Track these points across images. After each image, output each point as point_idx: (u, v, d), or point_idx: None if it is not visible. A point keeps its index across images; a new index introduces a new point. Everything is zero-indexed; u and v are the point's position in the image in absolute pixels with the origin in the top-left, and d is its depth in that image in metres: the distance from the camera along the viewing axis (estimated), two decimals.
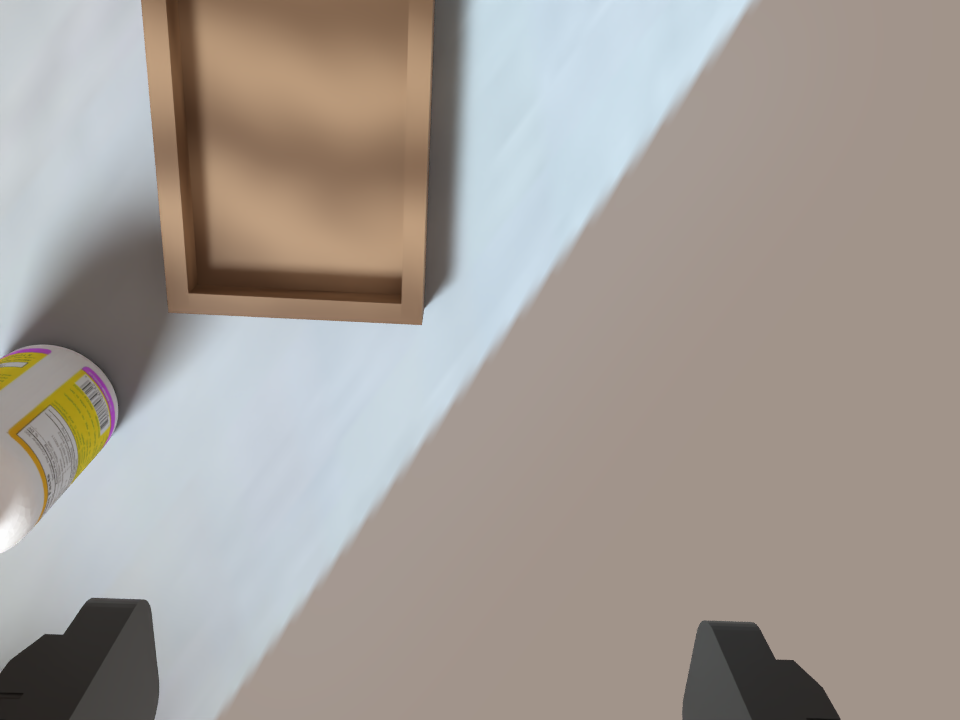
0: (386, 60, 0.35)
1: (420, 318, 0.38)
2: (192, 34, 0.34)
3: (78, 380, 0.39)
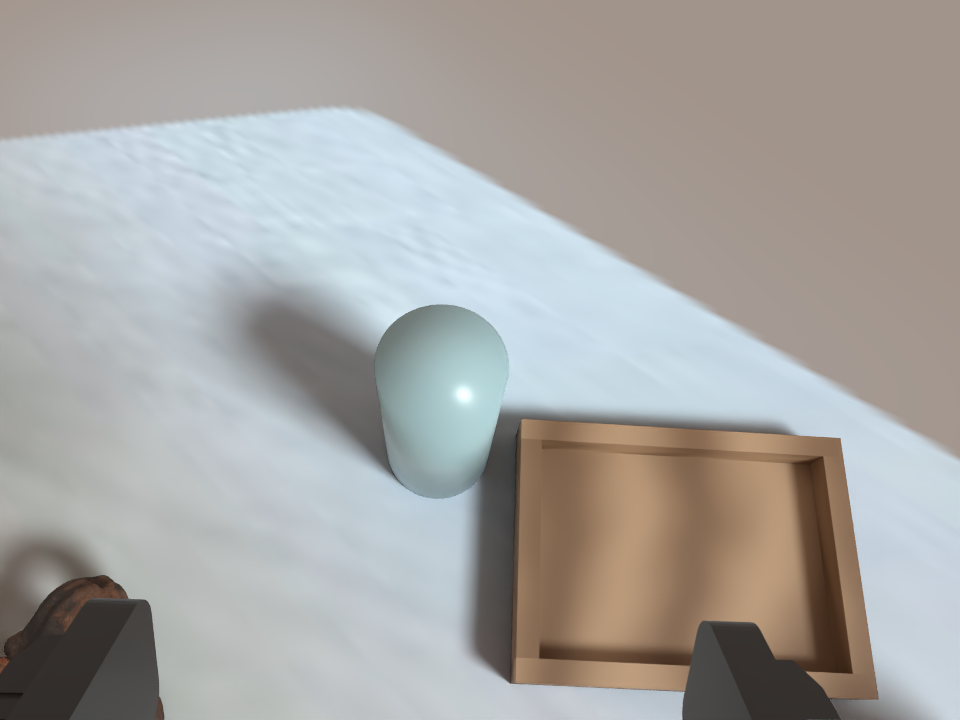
0: (601, 471, 0.40)
1: (834, 439, 0.39)
2: (592, 650, 0.36)
3: None
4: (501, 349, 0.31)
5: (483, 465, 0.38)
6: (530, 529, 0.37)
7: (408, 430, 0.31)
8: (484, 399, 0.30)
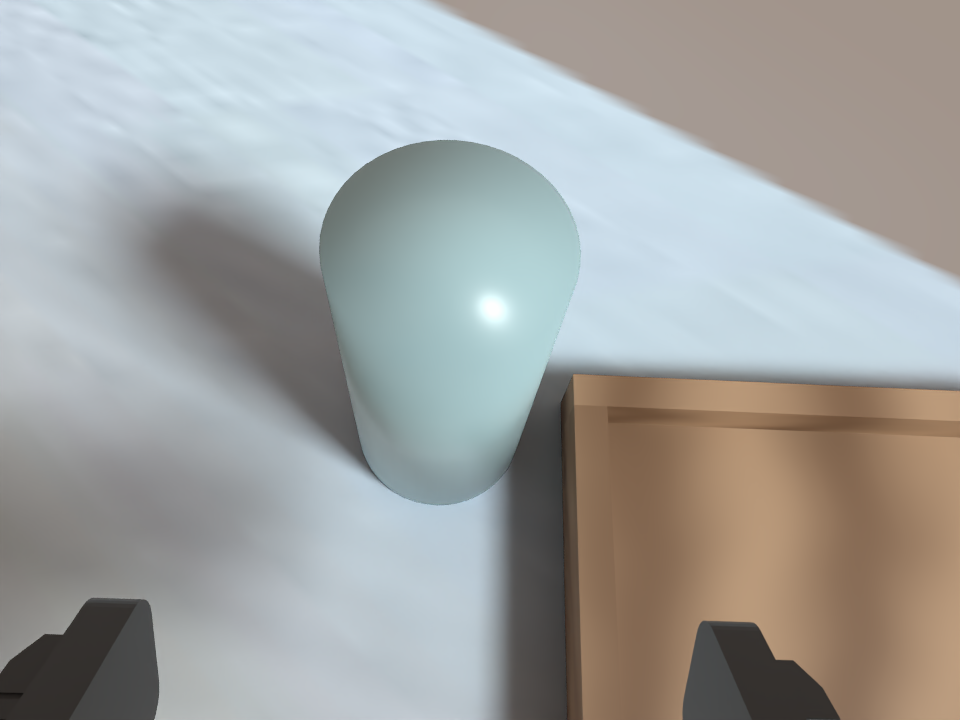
0: (700, 457, 0.25)
1: None
2: None
3: None
4: (564, 218, 0.16)
5: (514, 450, 0.24)
6: (597, 554, 0.22)
7: (388, 374, 0.16)
8: (536, 308, 0.15)
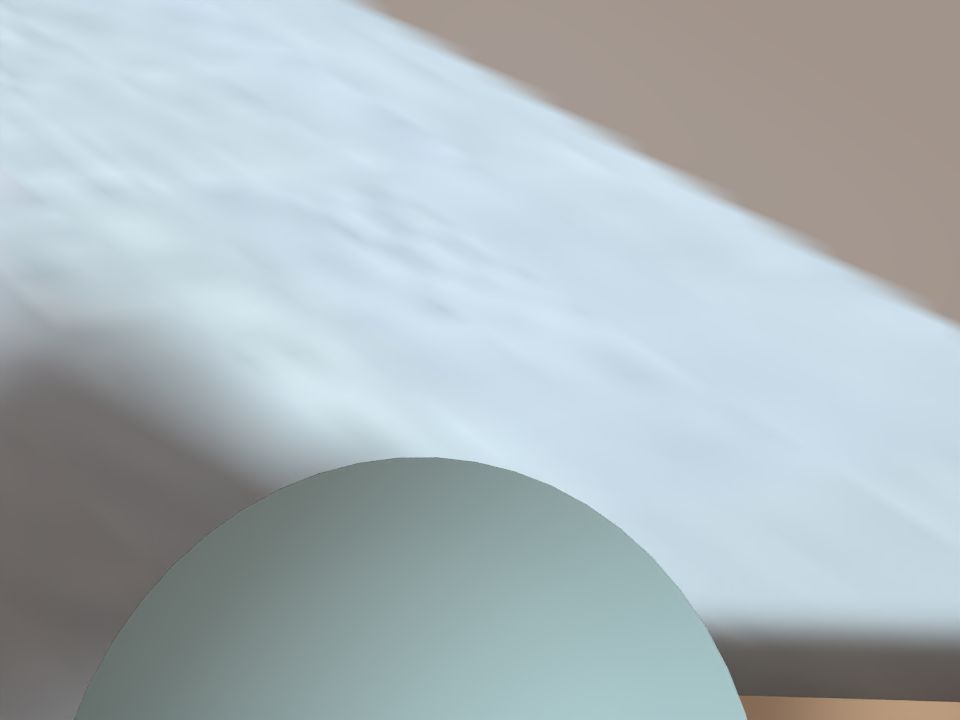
0: None
1: None
2: None
3: None
4: (714, 695, 0.06)
5: None
6: None
7: None
8: None
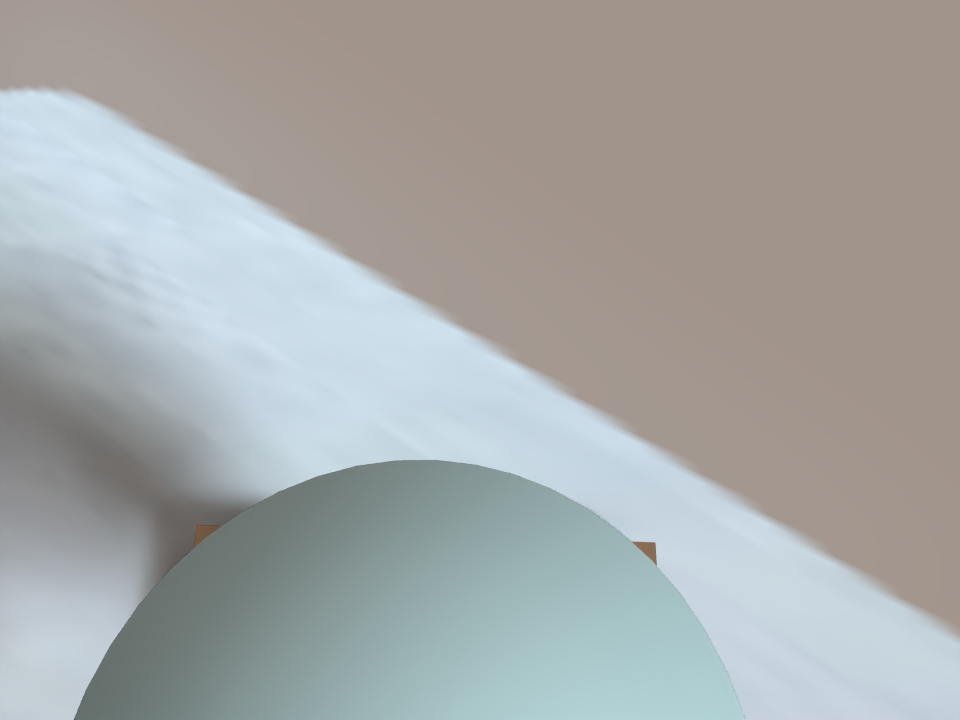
0: None
1: (646, 544, 0.28)
2: None
3: None
4: (714, 699, 0.06)
5: None
6: None
7: None
8: None
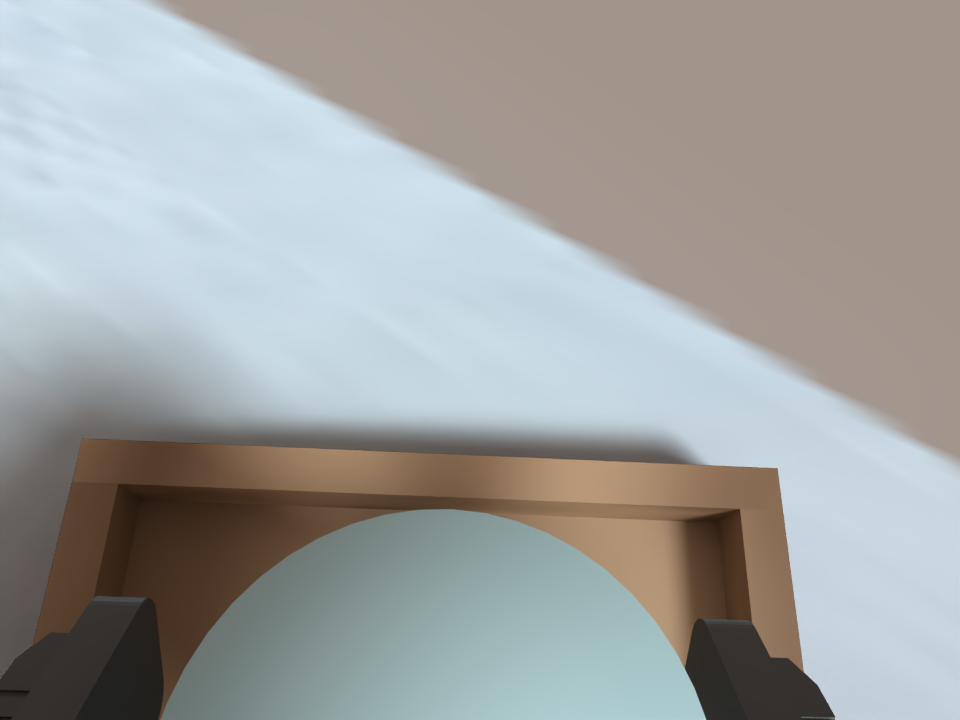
0: (271, 547, 0.19)
1: (764, 470, 0.18)
2: None
3: None
4: (683, 709, 0.07)
5: None
6: None
7: None
8: None
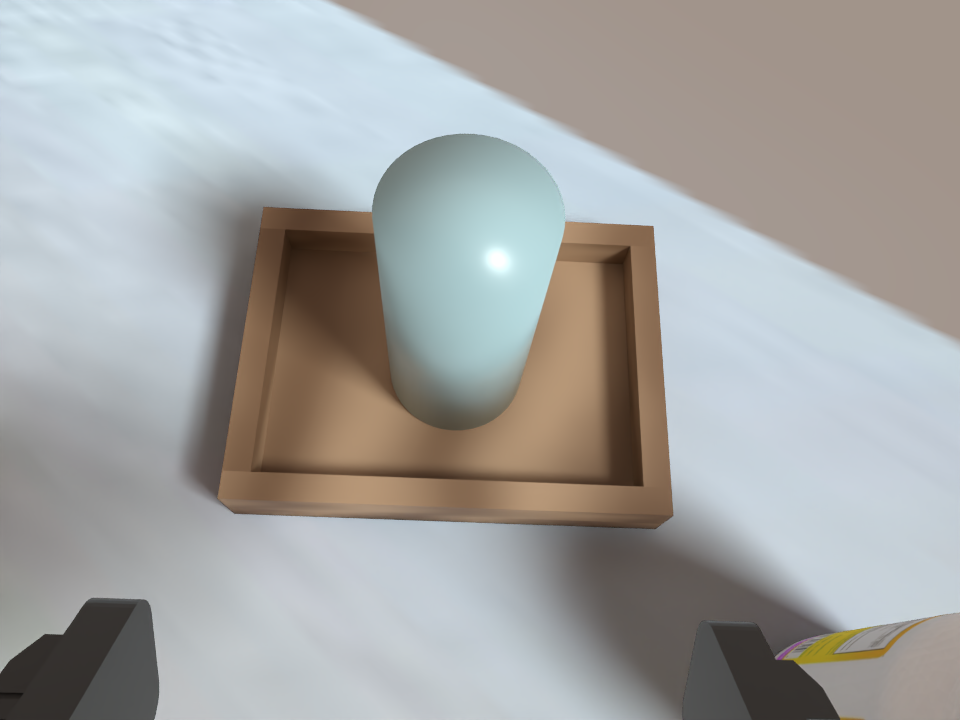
0: (366, 273, 0.33)
1: (645, 227, 0.33)
2: (333, 470, 0.30)
3: (792, 657, 0.26)
4: (553, 192, 0.22)
5: (517, 383, 0.29)
6: (258, 327, 0.30)
7: (422, 308, 0.21)
8: (532, 258, 0.21)
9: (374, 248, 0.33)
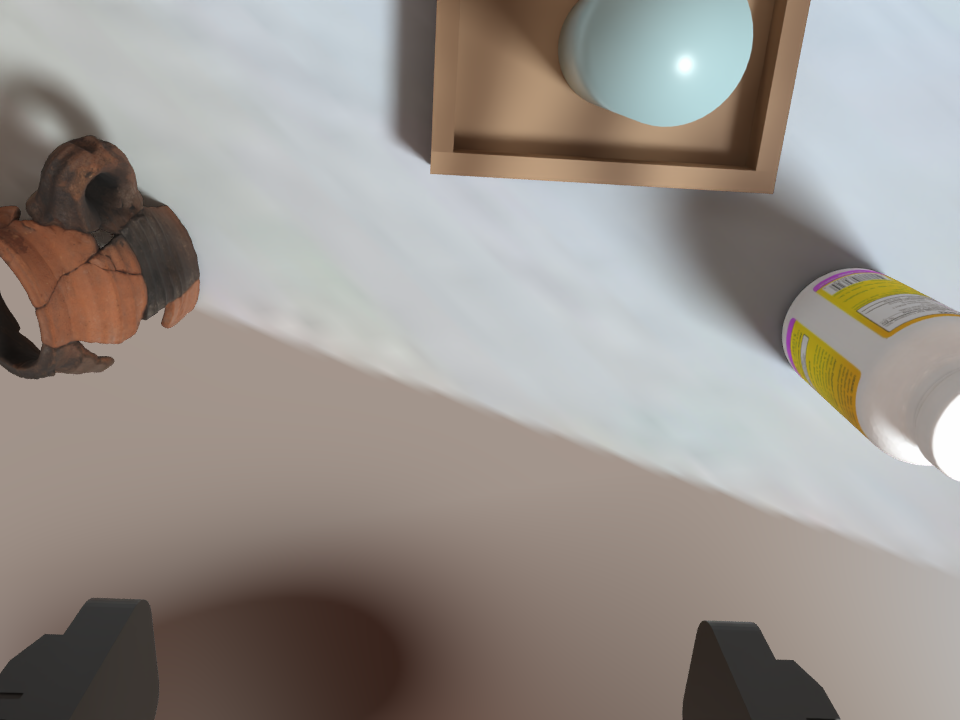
0: None
1: None
2: (510, 140, 0.37)
3: (828, 292, 0.39)
4: (746, 19, 0.25)
5: None
6: (448, 17, 0.34)
7: (622, 114, 0.27)
8: (718, 89, 0.26)
9: None
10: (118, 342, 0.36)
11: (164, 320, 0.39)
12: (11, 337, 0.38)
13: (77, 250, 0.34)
